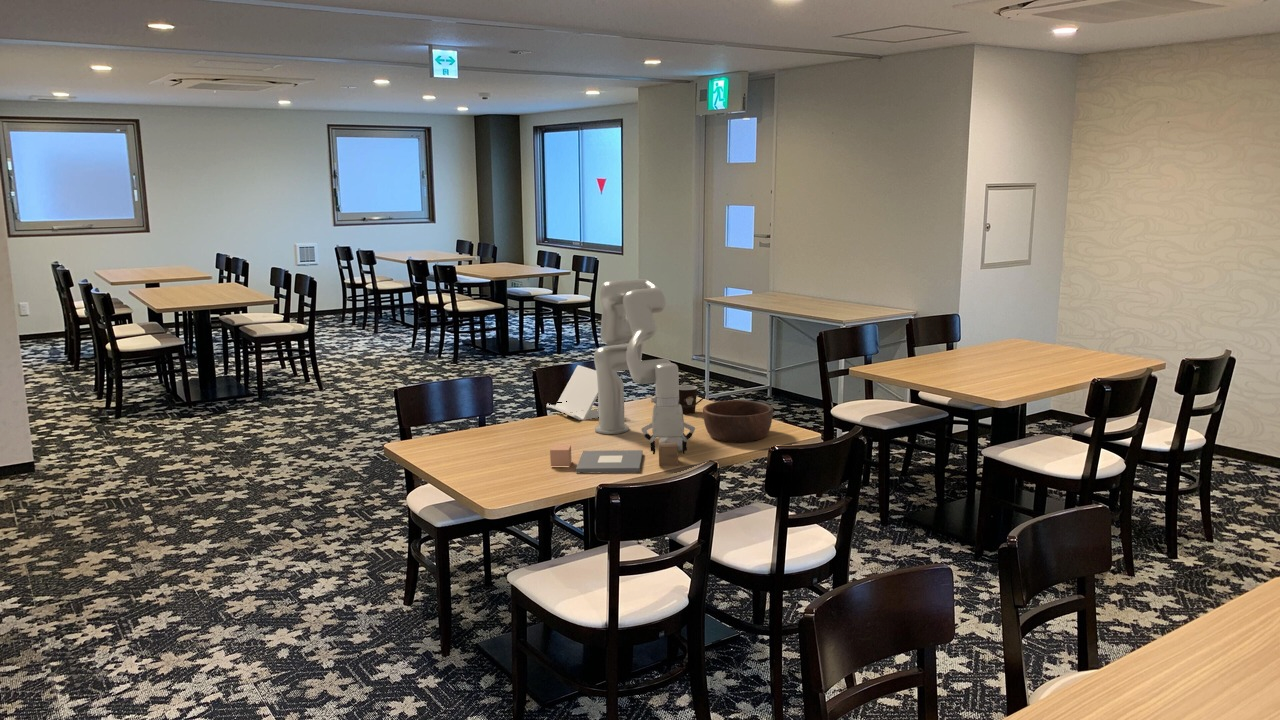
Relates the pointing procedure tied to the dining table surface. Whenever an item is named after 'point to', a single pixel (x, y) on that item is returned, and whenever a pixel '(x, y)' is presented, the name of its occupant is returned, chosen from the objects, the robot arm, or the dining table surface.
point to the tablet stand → (579, 395)
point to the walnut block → (668, 454)
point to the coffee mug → (688, 398)
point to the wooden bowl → (737, 420)
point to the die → (672, 441)
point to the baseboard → (610, 461)
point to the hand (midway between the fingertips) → (668, 453)
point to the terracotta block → (560, 455)
